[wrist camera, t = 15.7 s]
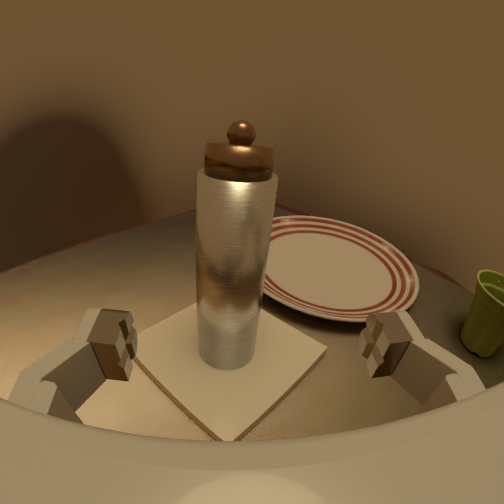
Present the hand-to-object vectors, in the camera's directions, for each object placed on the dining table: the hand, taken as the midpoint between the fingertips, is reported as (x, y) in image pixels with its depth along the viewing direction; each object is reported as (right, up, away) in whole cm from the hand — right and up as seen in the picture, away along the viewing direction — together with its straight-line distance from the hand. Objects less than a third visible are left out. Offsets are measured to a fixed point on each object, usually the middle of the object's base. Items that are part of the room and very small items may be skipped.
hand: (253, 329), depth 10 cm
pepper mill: (-2, -6, +17) cm, 18 cm away
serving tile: (-3, -7, +17) cm, 19 cm away
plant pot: (+30, -10, +20) cm, 37 cm away
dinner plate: (+11, -1, +33) cm, 35 cm away
